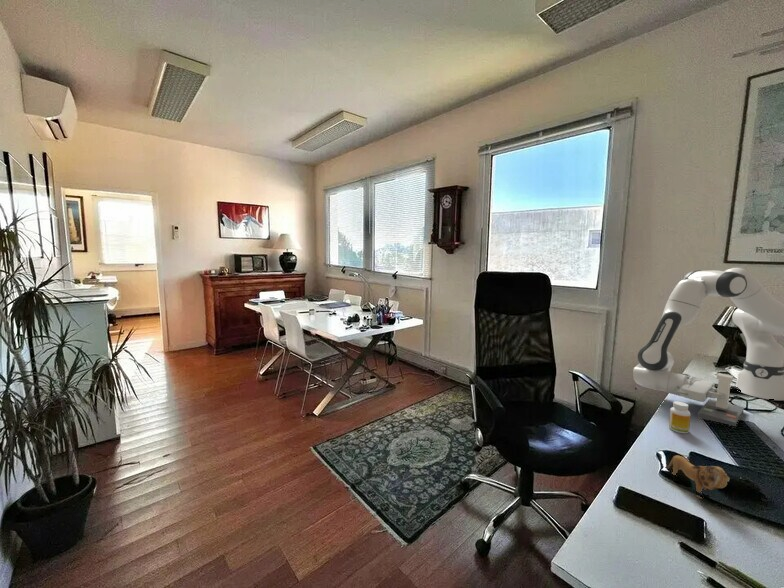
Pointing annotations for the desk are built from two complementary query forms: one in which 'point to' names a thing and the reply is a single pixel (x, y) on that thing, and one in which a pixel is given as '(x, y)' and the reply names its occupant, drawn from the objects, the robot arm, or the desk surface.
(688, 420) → the supplement bottle
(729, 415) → the breaker panel
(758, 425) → the desk surface
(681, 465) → the lion figurine
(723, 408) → the lever
